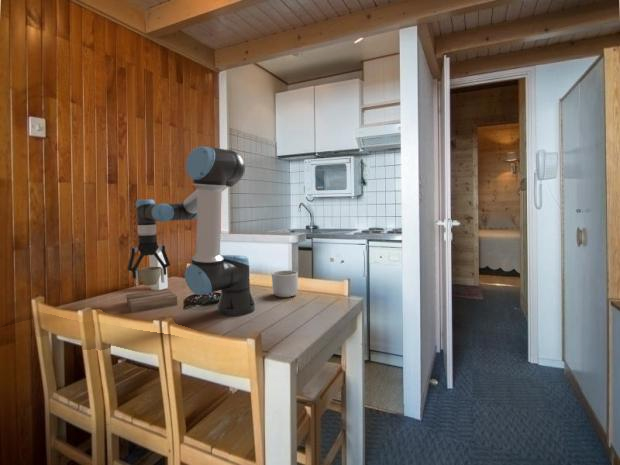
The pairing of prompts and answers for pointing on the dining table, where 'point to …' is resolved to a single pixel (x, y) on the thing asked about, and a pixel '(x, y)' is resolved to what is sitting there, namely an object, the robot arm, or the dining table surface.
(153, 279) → the olive green bowl
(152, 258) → the milk
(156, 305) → the stand
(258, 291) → the dining table surface
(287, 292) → the planter
